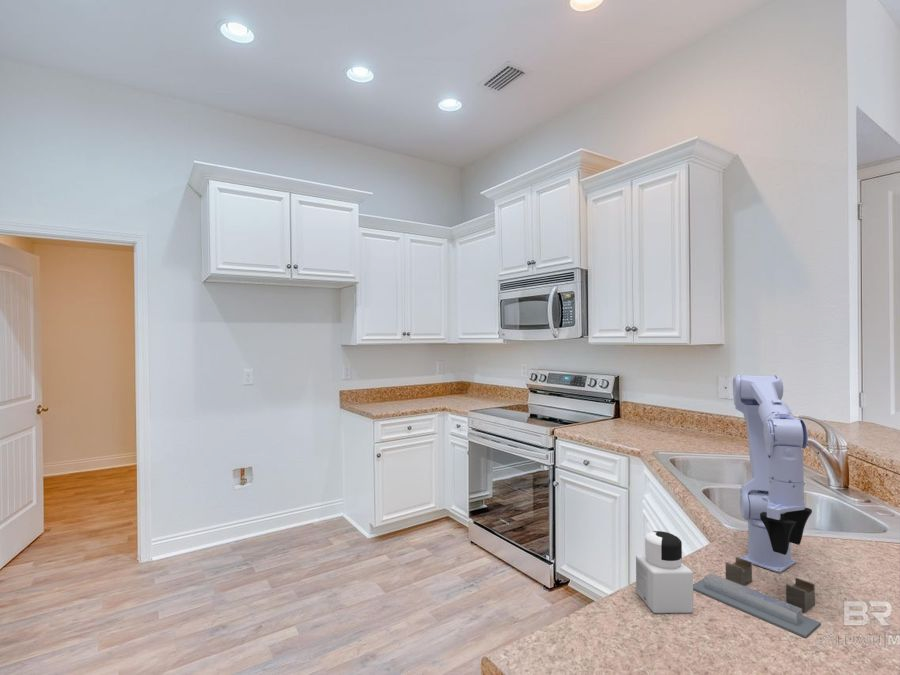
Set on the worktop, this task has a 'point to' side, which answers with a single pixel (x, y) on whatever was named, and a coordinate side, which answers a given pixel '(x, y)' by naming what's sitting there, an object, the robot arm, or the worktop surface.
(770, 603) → the rail
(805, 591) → the post
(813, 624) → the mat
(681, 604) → the lidar sensor
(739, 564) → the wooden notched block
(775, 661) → the worktop surface
